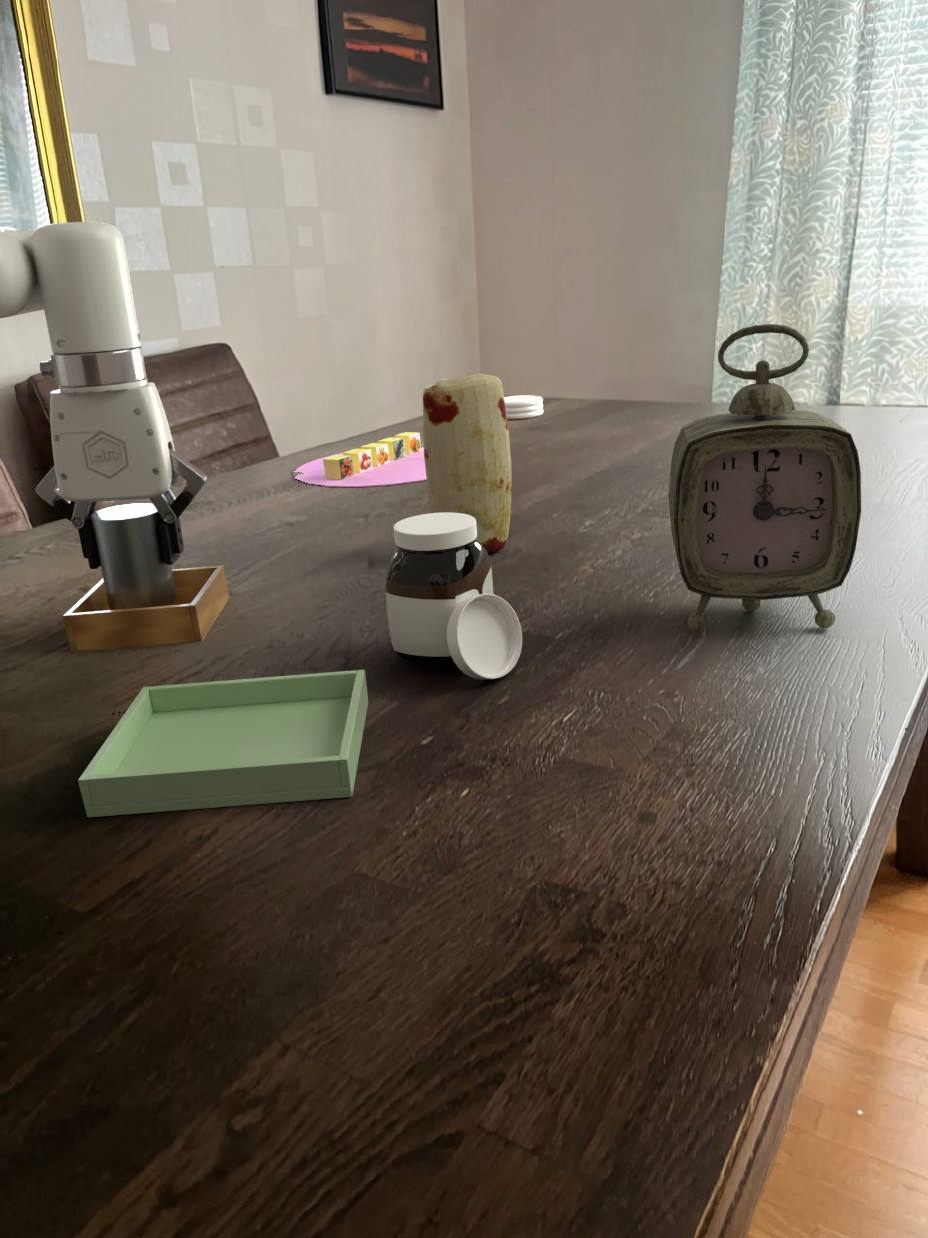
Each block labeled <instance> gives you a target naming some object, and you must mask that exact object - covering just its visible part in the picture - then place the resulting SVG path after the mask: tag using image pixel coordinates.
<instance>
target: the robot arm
mask: <svg viewBox="0 0 928 1238" xmlns="http://www.w3.org/2000/svg"><path fill="white" fill-rule="evenodd" d="M38 311H39V312H40V311H44V316H45V322H46V326H47V332H48V336H49V342H50V347H51V353H52V354H50V358H49V359H48V360H44V361H40V362H39V371H40V374H41V376H42V377H44V378H45V377H46V378H47V377H48V378H49V377H50V378H52V379H54V381H55V384H56V385H58V387H59V389H55V390H52V391H50V395H49V420H50V421H49V423H50V437H51V448H52V458H53V464H54V465H53V466H52V467H51V468H50V470H49V471H47V473H46V475H45V476H44V477H43V478H42V479H41V480H40V481H39V483H38V484H37V485H36V487H35V493H36V494H37V495H38V496H39V497H40V498H42V499H43V500H44V501H45V502H46V503H47V504H49V505H50V506H52V507H53V508H54V510H55V511H56V512H57V513H58V514H60V515H61V516H62V517H63V518H65V519H66V520H68V521H69V522H70V523H71V526H72V527H73V528H74V529H76V530H77V532H78V535H79V537H78V538H79V541H80V547H81V553H82V556H83V558H84V559H87V561H88V567H89V569H90V570H97V569H98V568H101V565H100V560H99V555H98V550H97V545H96V539H95V534H94V529H93V524H92V519H91V515H92V514H93V513H95V512H97V511H96V510H97V508H98V503H99V502H109V501H110V502H112V501H129V500H130V501H131V500H145V499H149V500H150V502H151V504H153V505H154V506H155V508H156V509H157V511H158V512H159V514H160V515H161V519H162V523H161V524H160V525H159V534H160V540H161V545H162V551H163V557H164V562H165V564H167V565H172V566H173V565H174V564H175V563H176V562H177V561H178V560H179V559H180V557H181V554H182V553H183V552H184V550H185V546H184V539H183V531H182V527H181V519H180V517H181V516H182V515H183V513H184V512H185V511H186V510H187V509H188V507H189V506H190V505H191V503H192V502H193V501H194V499H195V498H196V497H197V496H198V494H199V493H200V491H201V490H202V489H203V487H205V486H206V484H207V482H208V476H207V475H206V474H205V473H204V472H203V471H201V470H200V469H199V468H197V466H194V465H193V464H192V463H190V462H189V461H188V460H186V459H185V458H184V457H183V456H182V455H181V454H179V453H178V452H176V449H175V445H174V440H173V436H172V432H171V428H170V425H169V421H168V418H167V414H166V411H165V408H164V405H163V402H162V399H161V396H160V394H159V391H158V389H157V386H156V384H155V382H148V377H147V372H146V371H147V370H146V365H145V360H144V359H145V358H144V352H143V347H142V341H141V340H142V339H141V336H140V329H139V324H138V316H137V312H136V305H135V299H134V293H133V287H132V280H131V275H130V268H129V262H128V256H127V249H126V246H125V241H124V237H123V235H122V233H121V231H120V230H119V229H118V228H117V227H116V226H115V225H113V224H111V223H108V222H101V221H71V222H56V223H49V224H43V225H41V226H39V227H37V228H36V229H29V228H28V229H27V228H15V227H14V228H13V227H5V226H0V319H4V318H10V317H16V316H19V315H24V314H28V313H29V314H30V313H33V312H38ZM180 477H181V478H182V479H183V480H184V481H185V483H186V484H185V486H184V488H183V489H182V490H181V492H180V493H179V494H178V495H177V497H176V496H175V494H174V492H173V491H172V490H171V487H173V486H175V485H176V484H177V483H178V481H179V478H180Z"/></svg>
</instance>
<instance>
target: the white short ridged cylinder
mask: <svg viewBox="0 0 928 1238" xmlns="http://www.w3.org/2000/svg"><path fill="white" fill-rule="evenodd" d="M504 401H505V408H506V416H507V420H525V419H531V418H536V417H540V416H541V415H543V414H544V409H543V407H544V402H543V401H544V399H543V397H542V396H540V395H536V394H535V395H533V394H521V395H519V394H518V395H511V396H504Z"/></svg>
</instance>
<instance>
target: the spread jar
mask: <svg viewBox="0 0 928 1238" xmlns="http://www.w3.org/2000/svg"><path fill="white" fill-rule="evenodd" d="M392 528H393V536H394V544H395V545H396V547H395V550H394V552H393V554H392V556H391V558H390V561H389V563H388V567H387V571H386V576H385V584H384V585H385V586H384V588H385V604H386V613H387V614H386V615H387V622H388V631H389V637H390V642H391V646H392V648H393V651H394V653H395V654H396V655H397V656H398V657H399V658H400V659H402V660H403V661H405V662H407V663H409V664H411V665H413V666H415V667H418V668H421V669H425V670H437V671H438V670H439V671H441V670H452V669H459V670H460V671H461V672H462V673H463V674H464V675H466V676H467V677H469V678H471V679H475V680H481V681H484V680H495V679H500V678H502V677H504V676H506V675H507V674H509V673H510V672H511V671H512V670H513V669H514V668H515V666H516V665H517V662H518V661H519V659H520V656H521V653H522V647H523V630H522V626H521V622H520V620H519V617H518V614H517V612H516V611H515V609H514V608H513V607H512V605H511V604H510V603H509V602H508V601H507V600H506V599H504V598H503V597H501V596H499V595H496V594H494V580H493V570H492V563H491V558H490V555H489V553H487V551H486V549H485V548H484V547H483V545H482V544H481V543H480V542H478V541H477V540H476V537H477V527H476V519H475V518H474V517H472V516H470V515H467V514H462V513H430V512H429V513H424V514H423V513H422V514H418V515H413V516H410V517H406V518H404V519H401V520H398V521H397V522H396V523H394V525H393V527H392Z"/></svg>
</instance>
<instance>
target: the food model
mask: <svg viewBox="0 0 928 1238" xmlns="http://www.w3.org/2000/svg"><path fill="white" fill-rule="evenodd" d="M504 397H505V395H504V389H503V384H502V380H501V379H500V378H499V377H498V376H495V375H490V374H486V373H474V374H467V375H462V376H461V375H460V376H457V377H452V378H445V377H444V378H441V379H440V380H438V381H437V382H435V383H432V384H429V385H427V386H426V387H425V388H424V389H423V393H422V438H423V439H422V440H423V444H422V445H424V461H425V469H426V478H427V480H426V489H427V499H428V500H427V501H428V509H429V514H430V513H462V514H467V515H470V516H472V517H474V518H475V519H476V527H477V537H476V540H477V541H478V542H480V543H481V544H482V545H483V547H484V548H485V549H486V551H487V553H488V554H489V553H496V552H499V551H501V550H503V549H504V548H505V547H506V543H507V542H508V537H509V532H510V527H511V526H510V525H511V514H512V513H511V511H512V483H513V481H512V480H513V479H512V478H513V477H512V475H513V474H512V456H511V442H510V441H511V440H510V432H509V423H508V419H507V416H506V408H505V401H504Z"/></svg>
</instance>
